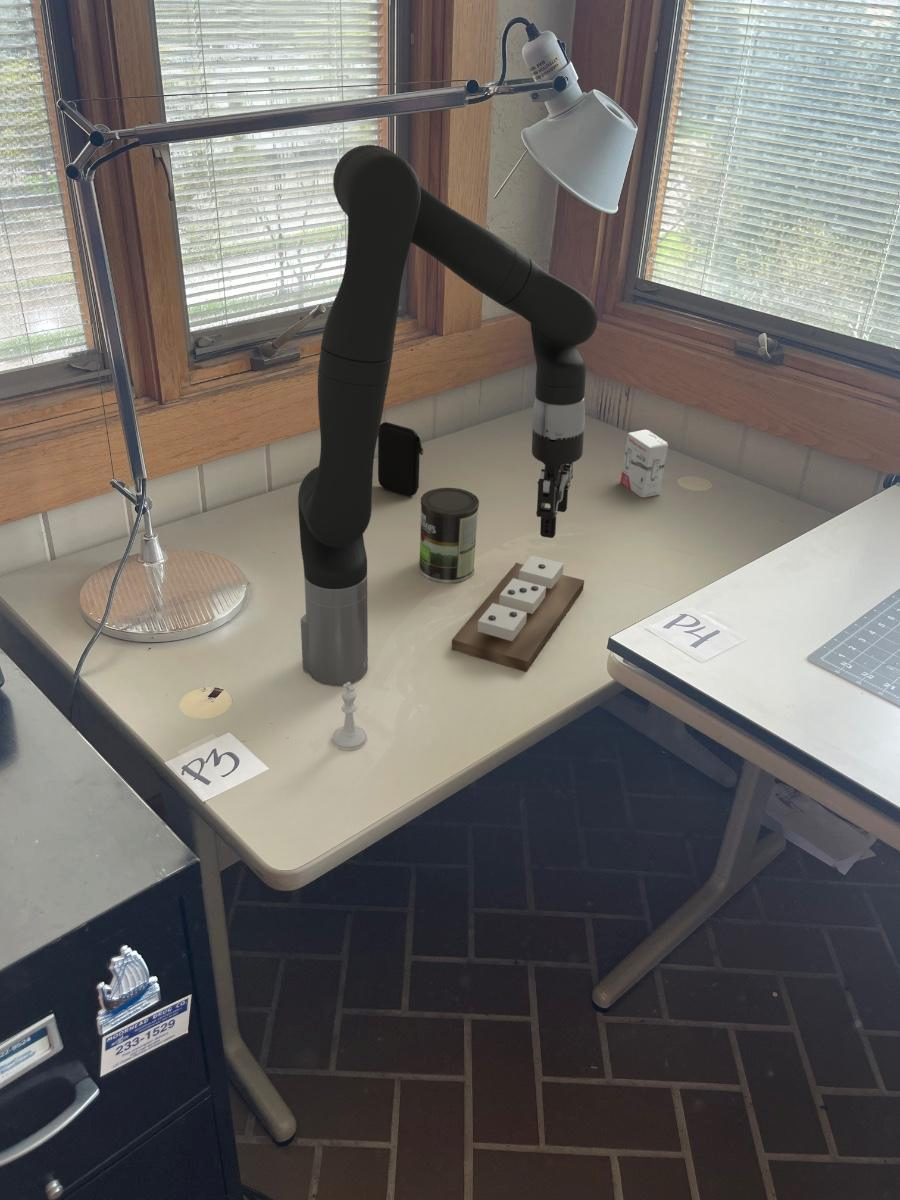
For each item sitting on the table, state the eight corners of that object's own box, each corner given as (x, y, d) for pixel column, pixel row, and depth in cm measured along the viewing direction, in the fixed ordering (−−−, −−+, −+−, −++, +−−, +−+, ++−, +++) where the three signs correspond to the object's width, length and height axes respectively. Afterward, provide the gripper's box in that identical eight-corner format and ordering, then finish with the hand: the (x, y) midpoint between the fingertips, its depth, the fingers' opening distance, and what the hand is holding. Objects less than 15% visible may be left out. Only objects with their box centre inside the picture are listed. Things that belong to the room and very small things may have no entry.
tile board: (451, 649, 163) (452, 639, 162) (515, 572, 185) (516, 562, 184) (526, 671, 159) (527, 661, 158) (583, 589, 181) (584, 580, 180)
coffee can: (430, 587, 180) (432, 516, 172) (411, 559, 188) (412, 491, 180) (483, 578, 183) (488, 509, 175) (462, 552, 191) (466, 484, 183)
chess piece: (349, 724, 147) (348, 668, 141) (374, 738, 144) (374, 682, 139) (324, 740, 143) (322, 683, 138) (349, 755, 141) (349, 698, 135)
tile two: (477, 631, 162) (478, 619, 161) (491, 613, 167) (492, 602, 166) (512, 641, 160) (513, 629, 159) (525, 622, 165) (527, 611, 163)
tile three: (498, 604, 169) (499, 593, 168) (512, 588, 174) (513, 577, 173) (532, 614, 167) (533, 602, 166) (545, 597, 172) (546, 585, 170)
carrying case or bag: (425, 496, 210) (427, 430, 202) (417, 502, 208) (419, 435, 200) (383, 483, 215) (383, 418, 207) (374, 488, 212) (374, 422, 205)
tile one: (518, 580, 176) (519, 569, 175) (531, 565, 181) (532, 554, 180) (551, 588, 174) (552, 577, 173) (562, 573, 179) (564, 562, 177)
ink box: (619, 482, 220) (626, 431, 214) (637, 478, 222) (645, 428, 215) (641, 498, 213) (649, 446, 207) (660, 495, 215) (669, 443, 209)
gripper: (544, 404, 155) (540, 499, 163) (521, 442, 143) (519, 542, 152) (592, 410, 153) (586, 505, 161) (574, 448, 141) (568, 548, 150)
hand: (553, 523), depth 157 cm, fingers open, 8 cm apart
